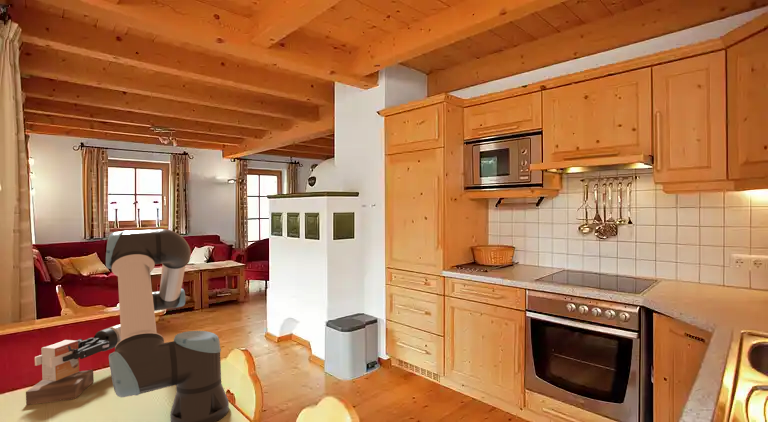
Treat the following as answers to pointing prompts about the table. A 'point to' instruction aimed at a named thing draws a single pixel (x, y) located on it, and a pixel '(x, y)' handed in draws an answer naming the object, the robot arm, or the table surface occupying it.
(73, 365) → the small box
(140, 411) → the table surface
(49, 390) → the walnut riser
